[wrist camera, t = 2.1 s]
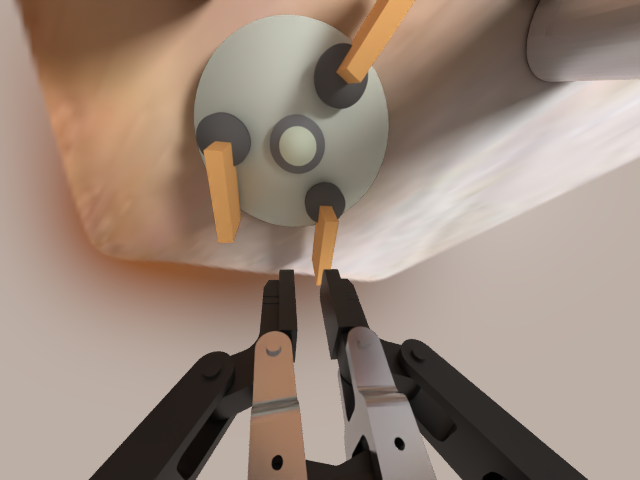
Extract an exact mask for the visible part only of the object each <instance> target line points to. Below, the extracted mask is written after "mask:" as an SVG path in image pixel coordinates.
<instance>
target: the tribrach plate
mask: <svg viewBox="0 0 640 480" xmlns="http://www.w3.org/2000/svg"><path fill="white" fill-rule="evenodd" d="M339 43H347V44H351V43H352V40H351V39H349V38H348V37H347V36H346V35H345V34H343V33H342V32H340V31H339V30H337V29H336V28H334V27H332V26H330V25H328V24H326V23H324V22H322V21H320V20H316V19H313V18H309V17H305V16H298V15H276V16H269V17H266V18H262V19H258V20H255V21H253V22H251V23H249V24H247V25H245V26H243V27H241V28H240V29H238V30H237V31H236V32H234V33H233V34H231V35H230V36H229V37H228V38H227V39H226V40H225V41H224V42H223V43H222V44H221V45H220V46H219V47H218V48H217V49H216V51H215V52H214V54H213V55H212V57H211V58H210V60H209V61H208V63H207V65H206V67H205V69H204V71H203V73H202V75H201V78H200V82H199V85H198V88H197V92H196V98H195V104H194V127H195V136H196V130H197V127H198V124H199V123H200V121H201V120H202V119H203V118H204V117H206V116H208V115H210V114H213V113H217V112H225V113H229V114H232V115H234V116H235V117H237V118H238V119H240V120H241V121H242V122H243V123H244V125H245V126H246V128H247V129H248V131H249V134H250V138H251V147H250V151H249V153H248V155H247V157H246V158H245V160H244V161H243V162H242V163H240V164H239V165H236V170H237V181H238V192H239V203H240V209H242V210H243V211H245V212H246V213H248V214H250V215H251V216H253V217H255V218H258V219H260V220H262V221H265V222H268V223H271V224H275V225H281V226H289V227H303V226H310V225H315V224H316V222H315V221H313V220H312V219H311V218H310V217H309V216H308V214H307V212H306V207H305V196H306V194H307V192H308V191H309V189H310V188H311V187H313V186H314V185H316V184H318V183H322V182H328V183H332V184H334V185H336V186H337V187H338V188H339V189H340V190H341V192H342V194H343V196H344V198H345V202H346V205H345V210H344V212H345V211H346V210H348V209H349V208H351V207H352V206H353V205H354V204H355V203H356V202H358V201H359V199H360V198H361V197H362V196H363V195H364V194H365V193H366V191H367V190H368V189H369V187H370V186H371V185H372V183H373V181H374V179H375V178H376V176H377V174H378V172H379V170H380V167H381V165H382V162H383V159H384V156H385V152H386V147H387V142H388V131H389V120H388V109H387V103H386V98H385V95H384V91H383V88H382V85H381V82H380V80H379V78H378V75H377V73H376V71H375V69H374V68H373V66H371V68H370V69H369V71H368V82H367V86H366V89H365V91H364V94H363V95H362V97H361V98H360V99H359V100H358V102H356V103H355V104H354V105H352V106H351V107H348V108H345V109H337V108H333V107H330V106H328V105H326V104H325V103H324V102H323V101H322V100H321V99H320V98H319V96H318V94H317V92H316V89H315V85H314V71H315V67H316V64H317V62H318V60H319V58H320V57H321V55H322V54H323V53H324V52H325V51H326V50H327V49H329V48H330V47H332V46H333V45H336V44H339ZM197 145H198V144H197ZM198 149H199V147H198ZM199 152H200V155H201V157H202V160H203V163H204V165H205V167H206V163H205V156H204V155H203V154H202V152H201V151H200V149H199ZM344 212H343V213H344Z"/></svg>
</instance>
